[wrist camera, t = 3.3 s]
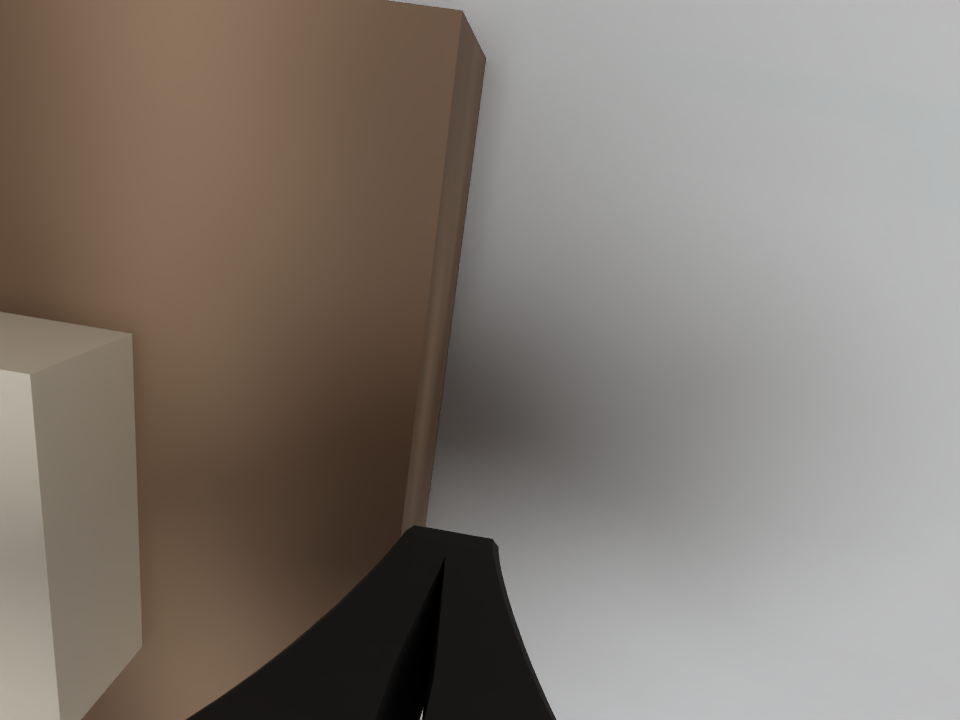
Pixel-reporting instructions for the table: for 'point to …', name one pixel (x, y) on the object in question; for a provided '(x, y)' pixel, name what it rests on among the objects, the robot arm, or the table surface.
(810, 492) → the table surface
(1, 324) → the ivory tile
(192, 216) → the walnut deck
